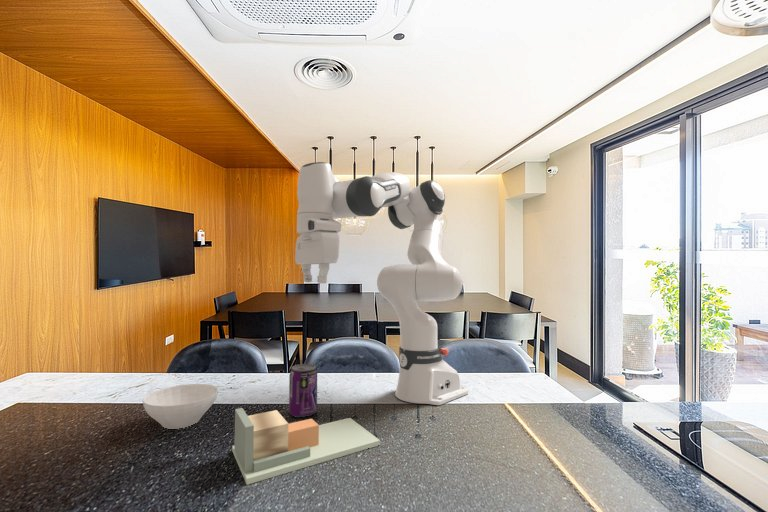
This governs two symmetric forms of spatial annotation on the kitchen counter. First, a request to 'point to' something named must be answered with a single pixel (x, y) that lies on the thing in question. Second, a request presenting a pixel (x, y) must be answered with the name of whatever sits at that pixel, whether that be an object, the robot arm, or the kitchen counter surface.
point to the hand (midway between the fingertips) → (314, 282)
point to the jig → (332, 444)
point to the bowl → (180, 404)
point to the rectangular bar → (303, 434)
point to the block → (269, 434)
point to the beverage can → (303, 390)
